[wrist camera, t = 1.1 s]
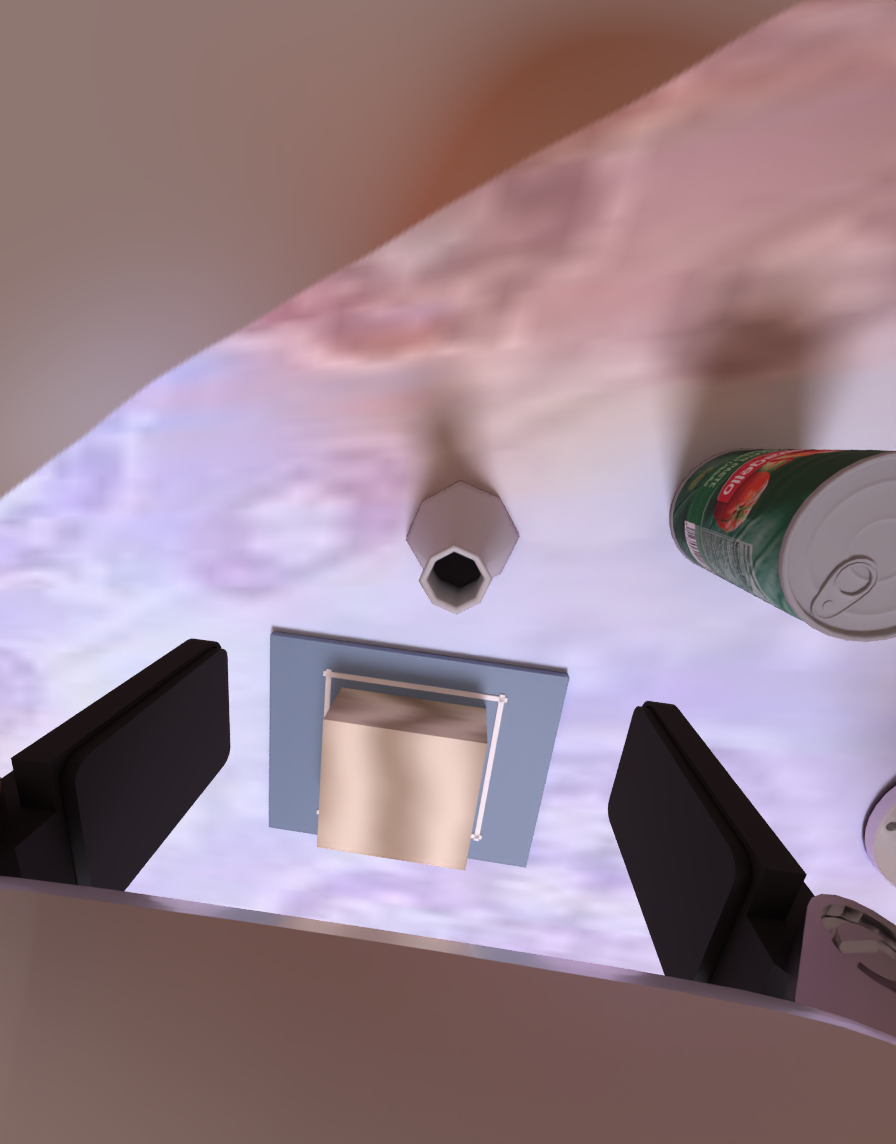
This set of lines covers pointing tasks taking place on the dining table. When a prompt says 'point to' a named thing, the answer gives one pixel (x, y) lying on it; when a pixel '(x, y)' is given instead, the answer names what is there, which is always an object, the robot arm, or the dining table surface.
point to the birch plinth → (400, 777)
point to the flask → (461, 545)
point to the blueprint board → (509, 693)
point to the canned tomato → (799, 533)
